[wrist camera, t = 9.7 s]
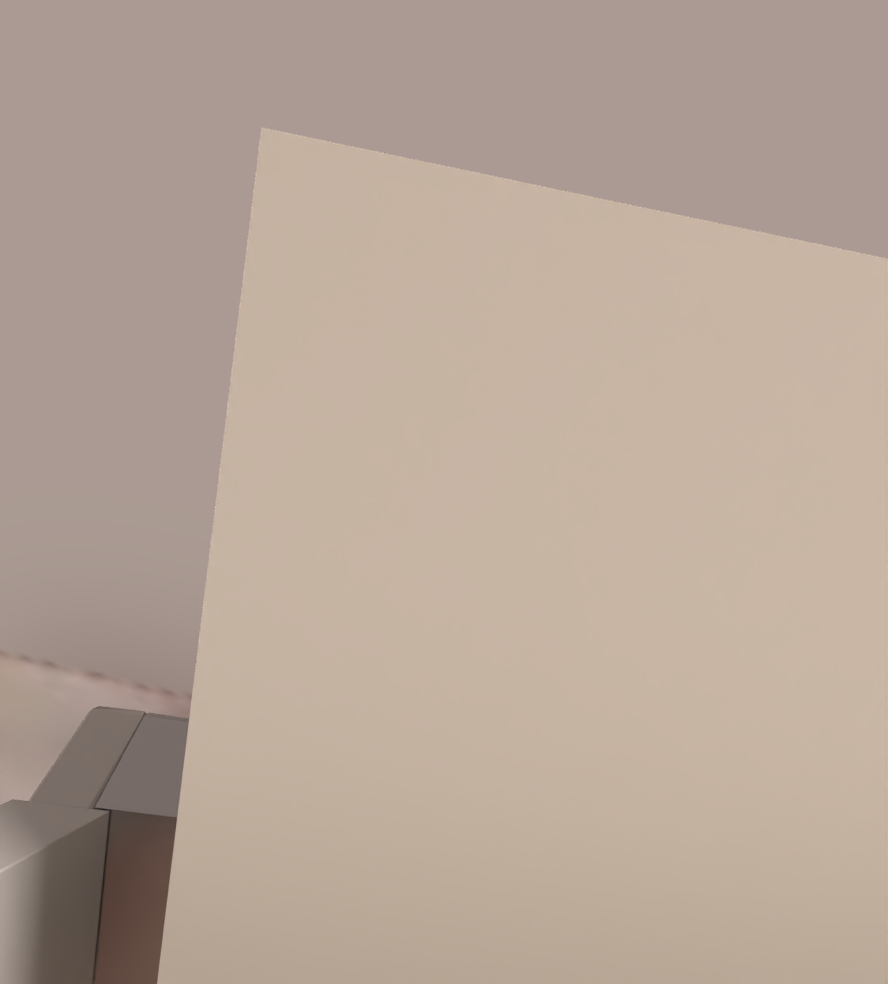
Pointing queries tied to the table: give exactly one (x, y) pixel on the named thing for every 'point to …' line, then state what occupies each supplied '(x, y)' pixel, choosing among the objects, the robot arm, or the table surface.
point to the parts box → (537, 596)
